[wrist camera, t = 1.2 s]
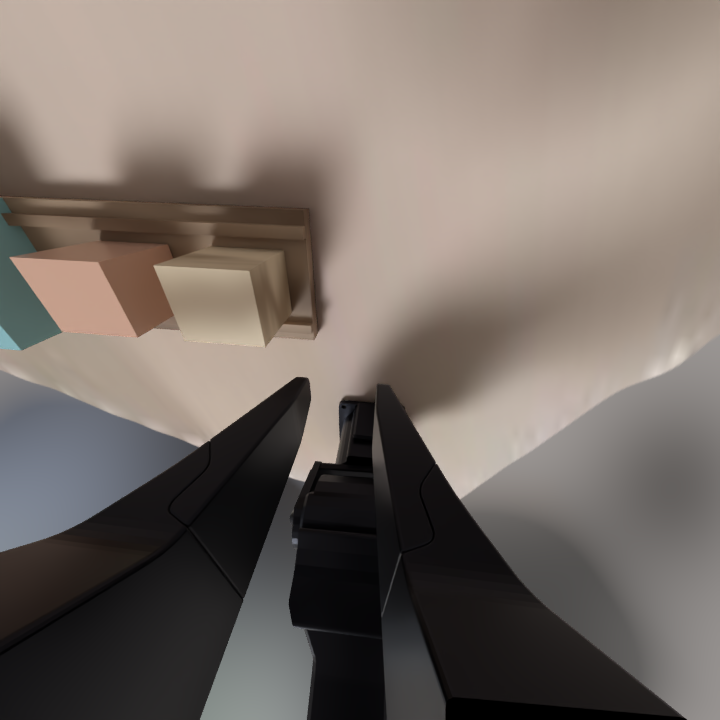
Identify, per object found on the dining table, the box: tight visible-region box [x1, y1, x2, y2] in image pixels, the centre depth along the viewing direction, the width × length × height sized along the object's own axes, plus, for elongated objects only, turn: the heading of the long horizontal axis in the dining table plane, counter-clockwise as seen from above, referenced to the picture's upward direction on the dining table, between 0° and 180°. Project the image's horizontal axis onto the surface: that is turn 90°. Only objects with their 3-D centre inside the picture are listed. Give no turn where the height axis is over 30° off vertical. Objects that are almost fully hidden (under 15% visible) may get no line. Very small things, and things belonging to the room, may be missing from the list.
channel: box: [0, 196, 318, 340], centre depth 19 cm, size 9×22×2 cm, turn 88°
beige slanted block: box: [153, 246, 292, 347], centre depth 16 cm, size 4×5×5 cm
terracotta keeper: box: [9, 241, 174, 337], centre depth 17 cm, size 4×5×5 cm
